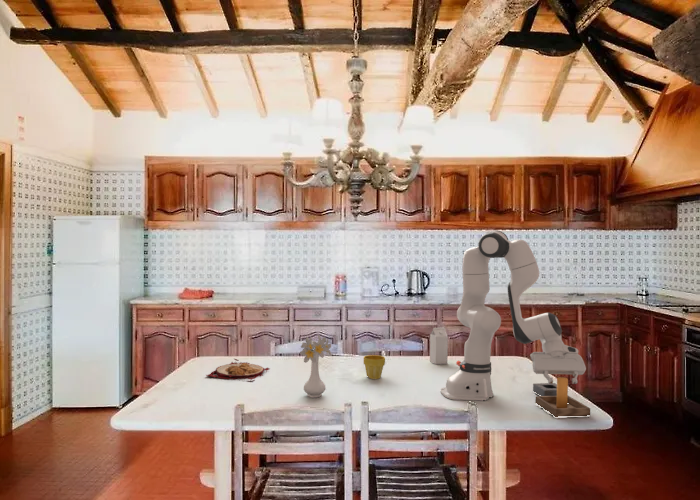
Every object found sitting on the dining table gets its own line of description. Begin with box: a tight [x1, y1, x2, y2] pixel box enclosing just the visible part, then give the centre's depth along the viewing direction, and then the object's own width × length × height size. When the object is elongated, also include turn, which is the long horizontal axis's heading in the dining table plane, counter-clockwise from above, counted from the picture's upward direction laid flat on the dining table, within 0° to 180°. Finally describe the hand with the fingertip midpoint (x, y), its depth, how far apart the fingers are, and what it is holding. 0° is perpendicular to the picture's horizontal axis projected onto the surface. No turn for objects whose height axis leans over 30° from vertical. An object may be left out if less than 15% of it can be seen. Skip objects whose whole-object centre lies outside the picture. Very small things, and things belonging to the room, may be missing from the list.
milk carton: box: [429, 327, 449, 365], centre depth 281 cm, size 7×7×19 cm
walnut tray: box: [534, 395, 591, 417], centre depth 206 cm, size 14×16×4 cm
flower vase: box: [299, 334, 332, 399], centre depth 220 cm, size 13×18×25 cm
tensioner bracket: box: [532, 382, 557, 396], centre depth 225 cm, size 10×10×4 cm
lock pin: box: [556, 376, 569, 408], centre depth 205 cm, size 4×4×12 cm
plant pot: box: [363, 354, 386, 380], centre depth 251 cm, size 10×10×10 cm
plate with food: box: [205, 358, 271, 382], centre depth 256 cm, size 25×26×4 cm
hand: (563, 382), depth 205 cm, fingers open, 8 cm apart
